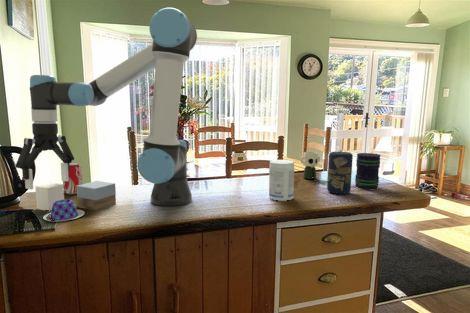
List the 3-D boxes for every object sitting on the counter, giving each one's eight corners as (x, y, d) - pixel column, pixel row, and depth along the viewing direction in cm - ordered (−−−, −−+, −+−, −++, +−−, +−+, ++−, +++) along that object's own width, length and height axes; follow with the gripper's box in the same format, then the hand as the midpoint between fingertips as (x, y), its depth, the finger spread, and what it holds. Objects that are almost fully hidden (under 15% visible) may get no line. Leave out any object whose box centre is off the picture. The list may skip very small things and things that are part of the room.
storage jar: (380, 186, 157) (382, 154, 155) (375, 191, 149) (378, 156, 147) (357, 184, 162) (359, 152, 160) (352, 188, 154) (354, 154, 152)
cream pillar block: (64, 206, 122) (63, 184, 121) (49, 211, 117) (47, 188, 115) (52, 204, 124) (51, 182, 123) (37, 209, 119) (35, 186, 118)
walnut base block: (115, 204, 126) (115, 194, 125) (96, 211, 118) (95, 200, 117) (97, 201, 130) (97, 191, 129) (77, 208, 122) (76, 196, 121)
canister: (325, 193, 144) (327, 150, 141) (328, 188, 152) (330, 148, 150) (349, 196, 140) (352, 152, 137) (351, 191, 149) (353, 149, 146)
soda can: (75, 195, 137) (73, 165, 135) (59, 194, 138) (57, 164, 136) (86, 191, 143) (85, 162, 142) (71, 190, 145) (69, 161, 143)
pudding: (78, 222, 107) (77, 206, 106) (36, 224, 105) (35, 207, 104) (89, 210, 118) (88, 195, 118) (51, 212, 117) (50, 196, 116)
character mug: (304, 180, 168) (305, 154, 166) (296, 177, 174) (297, 152, 172) (323, 179, 172) (324, 153, 170) (314, 176, 178) (316, 151, 176)
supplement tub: (286, 194, 142) (287, 158, 140) (298, 200, 133) (299, 162, 131) (264, 196, 139) (265, 160, 137) (275, 202, 130) (276, 163, 128)
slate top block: (115, 194, 125) (115, 183, 124) (95, 200, 117) (94, 188, 116) (97, 191, 129) (97, 180, 128) (77, 196, 121) (76, 185, 120)
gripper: (68, 120, 129) (70, 176, 132) (-1, 123, 106) (4, 190, 110) (83, 121, 126) (85, 179, 129) (15, 124, 103) (20, 194, 106)
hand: (48, 184), depth 119 cm, fingers open, 13 cm apart
